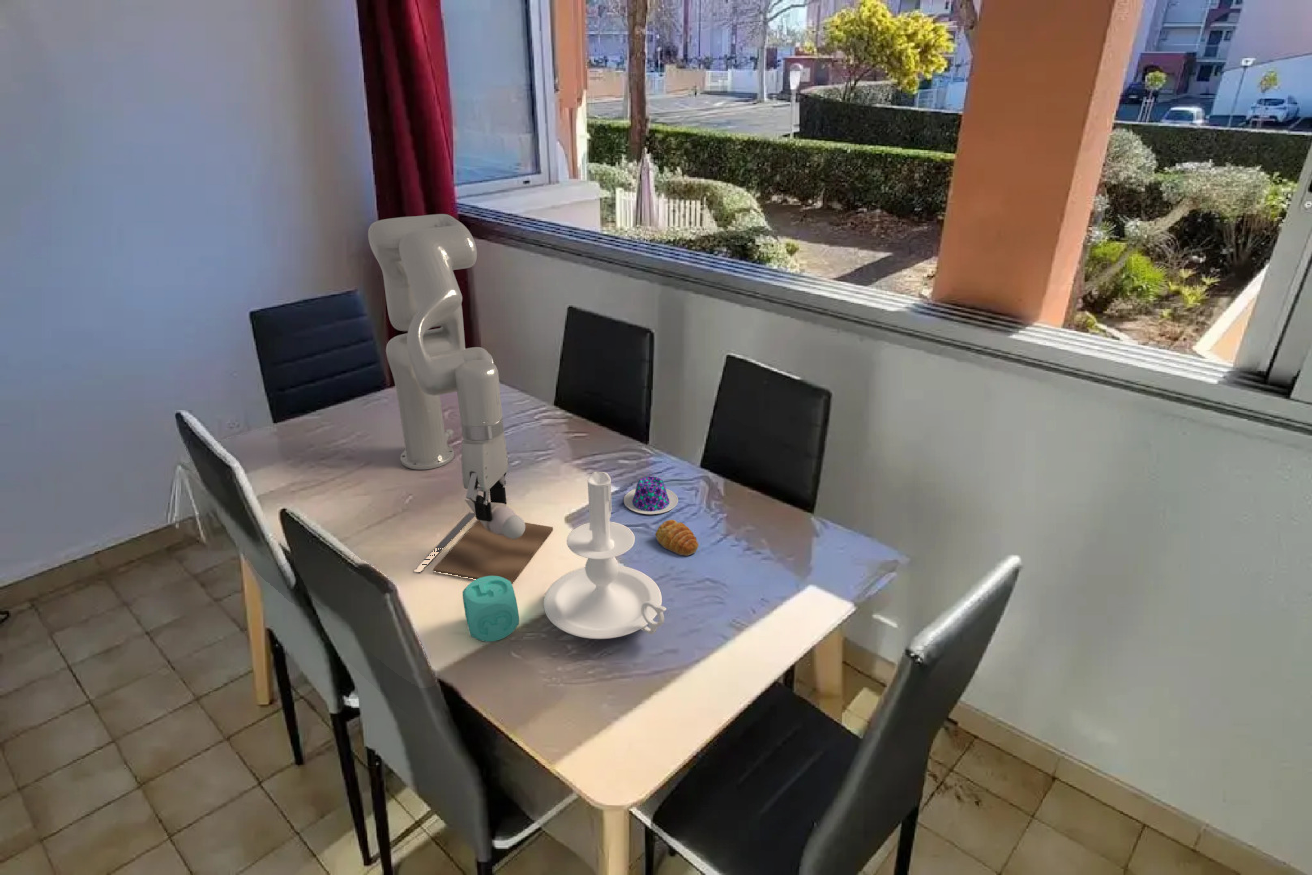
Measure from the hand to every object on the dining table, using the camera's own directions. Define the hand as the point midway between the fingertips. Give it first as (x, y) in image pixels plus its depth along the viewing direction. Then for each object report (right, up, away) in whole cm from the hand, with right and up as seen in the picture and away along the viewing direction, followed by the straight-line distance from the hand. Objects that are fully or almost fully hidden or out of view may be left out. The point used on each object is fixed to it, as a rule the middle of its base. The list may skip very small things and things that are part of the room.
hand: (491, 511), depth 152 cm
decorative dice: (+4, -19, -16) cm, 25 cm away
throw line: (-11, -7, +7) cm, 14 cm away
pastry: (+36, -7, +7) cm, 38 cm away
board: (0, -8, +4) cm, 9 cm away
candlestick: (+24, -18, -14) cm, 33 cm away
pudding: (+31, 0, +21) cm, 37 cm away
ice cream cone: (0, -4, +2) cm, 5 cm away
